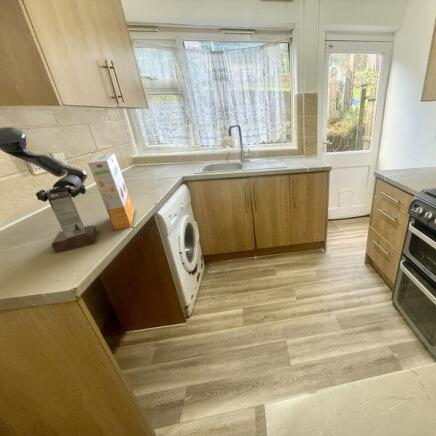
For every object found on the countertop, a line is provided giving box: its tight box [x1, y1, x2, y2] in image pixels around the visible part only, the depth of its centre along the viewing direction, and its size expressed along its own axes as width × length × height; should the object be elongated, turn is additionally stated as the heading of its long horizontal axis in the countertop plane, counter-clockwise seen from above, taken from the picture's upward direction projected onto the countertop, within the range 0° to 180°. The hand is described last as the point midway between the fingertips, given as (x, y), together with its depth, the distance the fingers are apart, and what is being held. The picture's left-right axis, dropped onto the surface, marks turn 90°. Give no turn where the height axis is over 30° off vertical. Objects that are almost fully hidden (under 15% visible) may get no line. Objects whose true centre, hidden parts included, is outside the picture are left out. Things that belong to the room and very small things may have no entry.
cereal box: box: [87, 152, 135, 230], centre depth 112 cm, size 22×6×30 cm, turn 27°
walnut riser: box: [51, 224, 99, 254], centre depth 98 cm, size 12×12×4 cm
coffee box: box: [47, 191, 86, 238], centre depth 94 cm, size 9×6×16 cm
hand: (58, 196), depth 91 cm, fingers open, 8 cm apart
